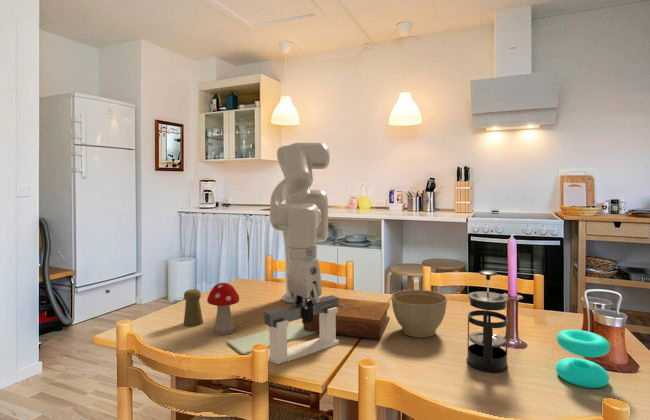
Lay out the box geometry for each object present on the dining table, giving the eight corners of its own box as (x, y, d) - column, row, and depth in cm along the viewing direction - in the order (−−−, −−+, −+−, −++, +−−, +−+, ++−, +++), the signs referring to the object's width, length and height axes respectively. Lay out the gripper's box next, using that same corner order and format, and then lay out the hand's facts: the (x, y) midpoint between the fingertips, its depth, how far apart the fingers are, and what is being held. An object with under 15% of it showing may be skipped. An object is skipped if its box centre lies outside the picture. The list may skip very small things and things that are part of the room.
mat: (297, 323, 125) (297, 321, 125) (316, 332, 117) (316, 330, 117) (227, 343, 110) (227, 341, 110) (243, 355, 102) (243, 353, 102)
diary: (303, 331, 117) (303, 312, 116) (323, 312, 134) (322, 296, 134) (379, 340, 110) (379, 320, 109) (389, 319, 127) (389, 302, 127)
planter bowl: (447, 325, 121) (447, 291, 121) (445, 346, 106) (446, 307, 105) (395, 320, 127) (395, 287, 126) (387, 339, 111) (386, 302, 111)
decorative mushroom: (201, 334, 117) (200, 285, 116) (219, 324, 125) (218, 278, 124) (229, 338, 113) (228, 288, 112) (246, 328, 121) (244, 281, 120)
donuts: (618, 347, 81) (564, 342, 84) (616, 393, 82) (562, 387, 84) (600, 329, 90) (551, 325, 93) (598, 371, 91) (550, 366, 94)
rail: (332, 305, 112) (332, 295, 112) (338, 308, 110) (338, 297, 109) (264, 323, 99) (264, 312, 98) (270, 327, 96) (270, 315, 96)
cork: (197, 327, 123) (195, 293, 122) (179, 326, 124) (178, 292, 123) (206, 320, 129) (205, 288, 128) (189, 319, 130) (188, 287, 129)
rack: (327, 338, 113) (326, 302, 112) (339, 344, 108) (338, 307, 108) (266, 357, 100) (265, 318, 100) (277, 365, 96) (276, 323, 95)
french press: (466, 352, 102) (467, 265, 101) (506, 357, 99) (507, 268, 97) (465, 372, 91) (467, 276, 90) (510, 379, 88) (512, 279, 86)
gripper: (333, 255, 99) (333, 326, 100) (297, 247, 111) (298, 309, 113) (309, 259, 94) (310, 333, 96) (274, 250, 107) (275, 315, 108)
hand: (303, 319), depth 104 cm, fingers closed on rail, 3 cm apart
